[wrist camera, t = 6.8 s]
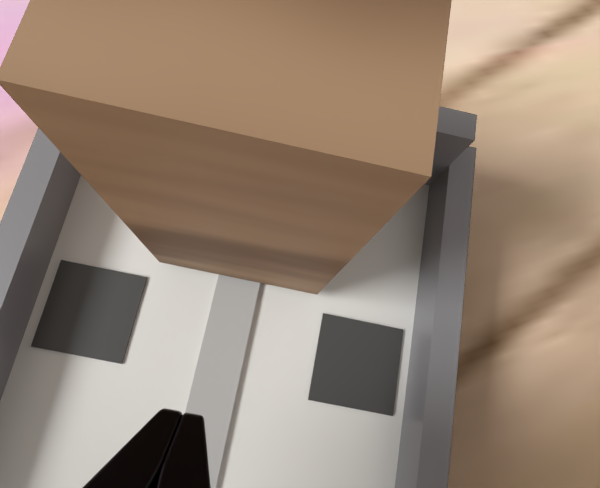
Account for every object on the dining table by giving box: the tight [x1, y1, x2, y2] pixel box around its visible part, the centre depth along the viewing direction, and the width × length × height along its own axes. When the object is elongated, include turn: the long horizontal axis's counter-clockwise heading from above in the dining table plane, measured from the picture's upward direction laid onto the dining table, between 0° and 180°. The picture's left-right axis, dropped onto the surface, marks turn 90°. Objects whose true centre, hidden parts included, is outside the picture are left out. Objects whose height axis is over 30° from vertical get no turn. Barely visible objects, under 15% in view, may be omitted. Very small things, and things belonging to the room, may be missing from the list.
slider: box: [0, 0, 451, 295], centre depth 12 cm, size 5×6×11 cm
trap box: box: [0, 106, 477, 488], centre depth 15 cm, size 19×16×5 cm
